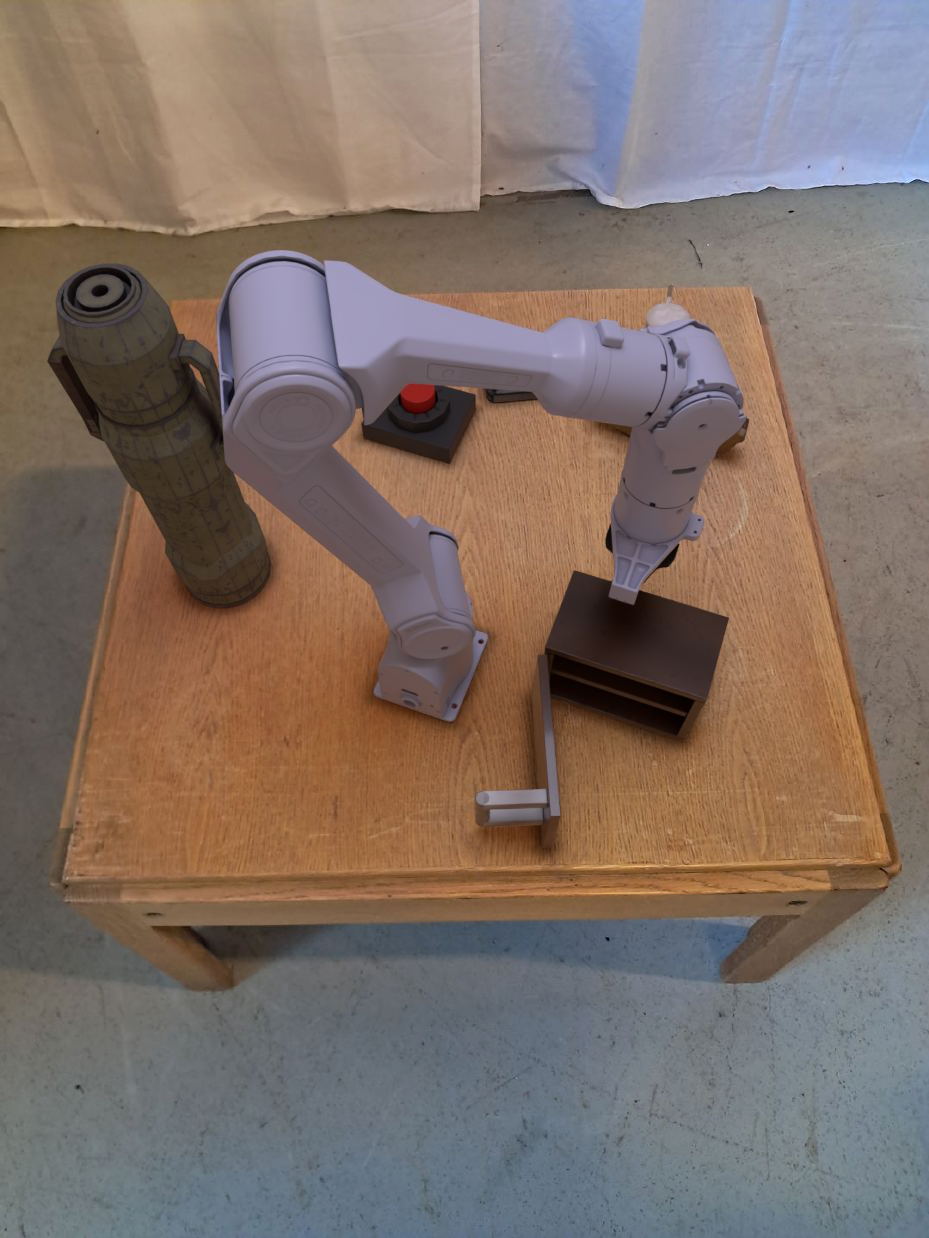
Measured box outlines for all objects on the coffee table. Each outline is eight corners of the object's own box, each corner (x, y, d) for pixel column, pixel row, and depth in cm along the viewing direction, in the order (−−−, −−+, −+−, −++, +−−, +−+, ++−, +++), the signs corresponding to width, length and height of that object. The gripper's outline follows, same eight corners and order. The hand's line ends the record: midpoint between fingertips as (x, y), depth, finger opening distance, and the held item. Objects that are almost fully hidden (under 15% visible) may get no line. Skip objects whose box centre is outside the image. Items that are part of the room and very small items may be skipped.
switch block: (476, 409, 100) (476, 383, 96) (449, 464, 96) (448, 439, 93) (392, 386, 102) (389, 360, 98) (363, 438, 98) (359, 413, 95)
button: (440, 393, 96) (439, 381, 95) (427, 417, 95) (427, 406, 93) (408, 384, 97) (407, 372, 95) (395, 408, 95) (394, 397, 94)
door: (476, 850, 76) (475, 819, 68) (470, 702, 83) (469, 657, 75) (552, 848, 77) (561, 816, 68) (540, 699, 83) (547, 654, 75)
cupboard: (683, 742, 81) (707, 699, 73) (538, 694, 83) (544, 646, 75) (704, 666, 85) (729, 617, 76) (564, 622, 87) (573, 569, 79)
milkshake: (675, 355, 103) (693, 285, 95) (675, 391, 101) (694, 322, 92) (634, 353, 104) (649, 282, 95) (634, 388, 101) (649, 319, 92)
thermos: (173, 534, 92) (22, 245, 62) (290, 532, 92) (196, 241, 62) (160, 610, 88) (-8, 340, 58) (282, 608, 88) (178, 337, 57)
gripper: (690, 573, 62) (655, 661, 74) (739, 419, 68) (700, 523, 80) (591, 542, 63) (572, 633, 75) (648, 394, 70) (622, 499, 82)
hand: (633, 574), depth 78 cm, fingers closed
